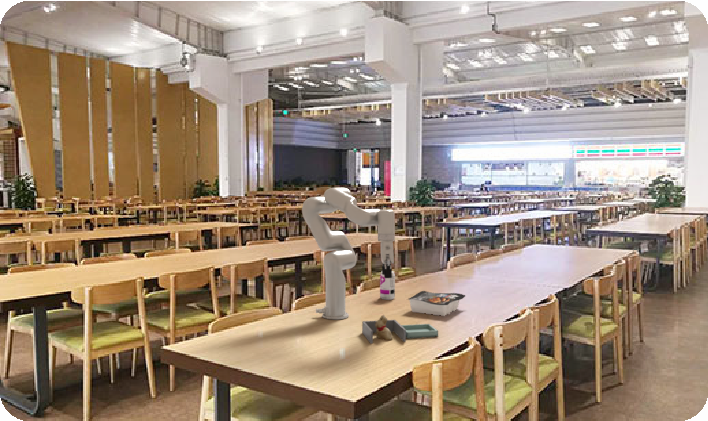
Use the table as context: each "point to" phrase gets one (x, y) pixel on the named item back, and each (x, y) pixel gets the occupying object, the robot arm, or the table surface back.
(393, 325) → the bay
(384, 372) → the table surface
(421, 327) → the tray
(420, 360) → the table surface
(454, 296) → the food packaging
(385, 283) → the supplement can
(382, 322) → the chocolate bunny
